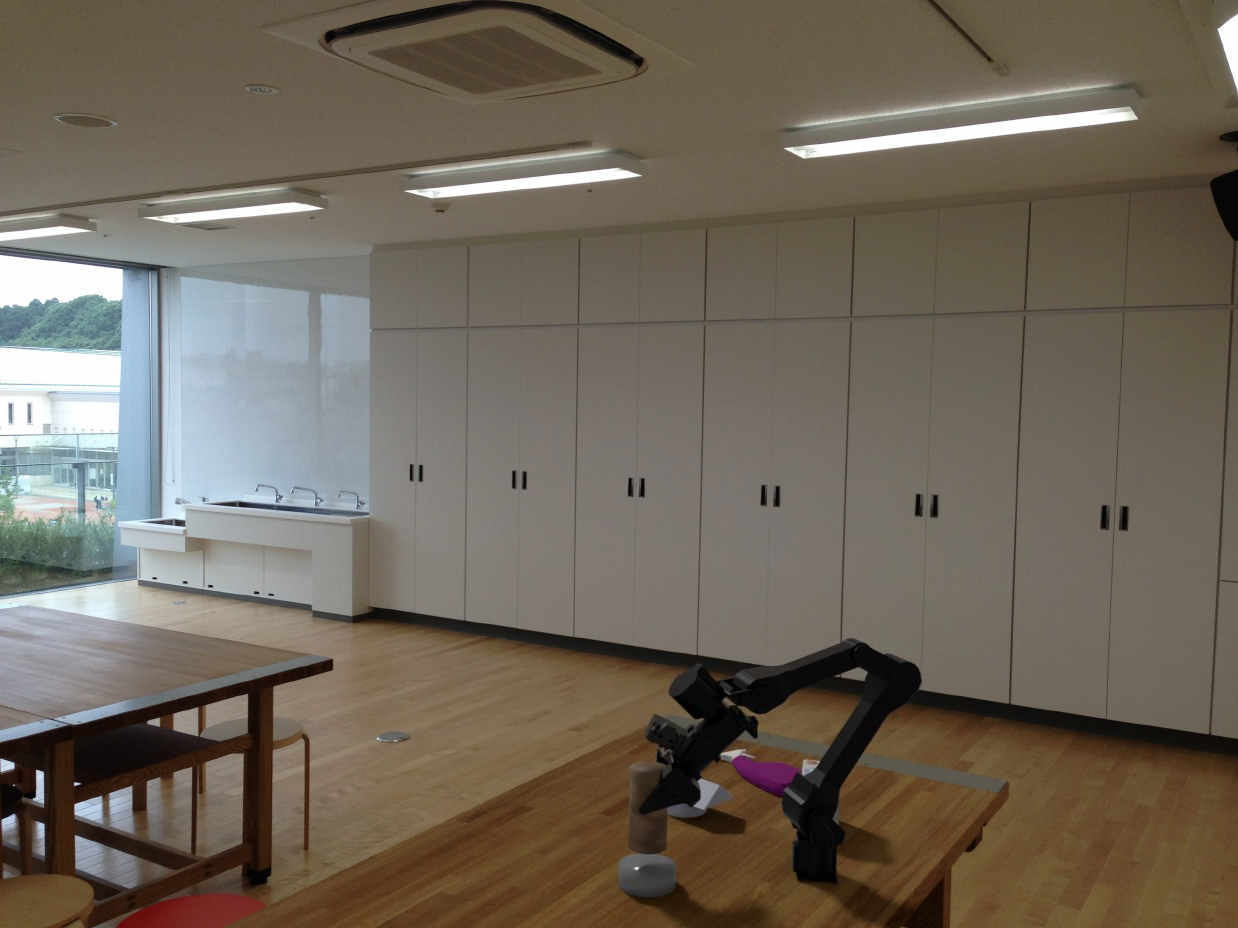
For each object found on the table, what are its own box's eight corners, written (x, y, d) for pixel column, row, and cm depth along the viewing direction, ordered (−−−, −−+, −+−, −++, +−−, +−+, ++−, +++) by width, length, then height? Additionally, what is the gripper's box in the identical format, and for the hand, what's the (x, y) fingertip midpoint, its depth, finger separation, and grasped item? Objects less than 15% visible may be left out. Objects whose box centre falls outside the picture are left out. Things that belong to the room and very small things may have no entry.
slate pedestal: (675, 872, 165) (676, 854, 165) (675, 898, 156) (675, 879, 156) (620, 869, 166) (620, 851, 166) (616, 895, 157) (616, 876, 157)
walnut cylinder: (667, 839, 164) (669, 762, 163) (665, 855, 158) (667, 775, 158) (629, 837, 165) (631, 760, 164) (627, 853, 159) (628, 773, 158)
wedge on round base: (733, 814, 190) (679, 795, 199) (734, 778, 190) (680, 761, 199) (703, 828, 184) (648, 807, 193) (704, 791, 184) (649, 772, 192)
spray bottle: (776, 800, 199) (707, 763, 221) (821, 791, 204) (748, 756, 226) (777, 785, 199) (707, 749, 221) (821, 777, 204) (749, 742, 226)
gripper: (672, 684, 170) (604, 748, 170) (680, 717, 151) (603, 789, 151) (719, 732, 170) (650, 796, 170) (732, 771, 151) (655, 843, 152)
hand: (639, 804), depth 161 cm, fingers closed on walnut cylinder, 6 cm apart
